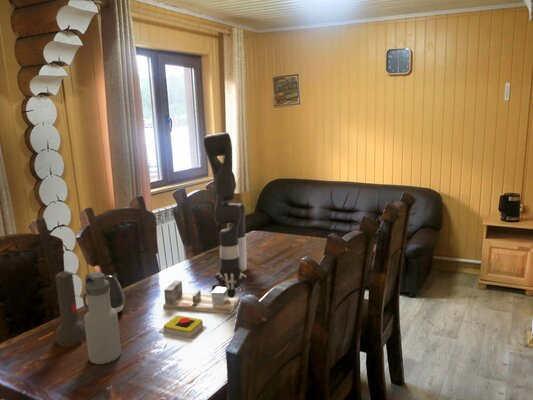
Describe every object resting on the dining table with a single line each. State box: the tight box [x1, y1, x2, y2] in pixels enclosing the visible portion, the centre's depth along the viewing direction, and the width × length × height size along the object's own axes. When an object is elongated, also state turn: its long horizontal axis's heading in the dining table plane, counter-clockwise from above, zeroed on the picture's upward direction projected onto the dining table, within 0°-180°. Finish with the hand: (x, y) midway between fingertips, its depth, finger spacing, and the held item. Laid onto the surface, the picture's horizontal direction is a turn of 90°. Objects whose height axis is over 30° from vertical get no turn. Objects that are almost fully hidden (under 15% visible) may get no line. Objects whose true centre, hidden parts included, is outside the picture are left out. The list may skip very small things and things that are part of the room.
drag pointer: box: [190, 289, 202, 307], centre depth 174 cm, size 10×1×3 cm, turn 167°
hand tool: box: [211, 277, 239, 292], centre depth 194 cm, size 19×4×5 cm, turn 150°
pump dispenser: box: [105, 272, 126, 314], centre depth 170 cm, size 10×10×15 cm
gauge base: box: [162, 280, 240, 314], centre depth 175 cm, size 12×28×8 cm, turn 77°
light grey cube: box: [211, 287, 229, 305], centre depth 173 cm, size 6×5×5 cm
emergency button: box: [158, 315, 207, 340], centre depth 155 cm, size 9×4×15 cm
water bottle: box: [82, 271, 122, 365], centre depth 137 cm, size 10×10×28 cm
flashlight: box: [54, 270, 86, 347], centre depth 149 cm, size 10×25×10 cm
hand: (231, 297), depth 172 cm, fingers closed
